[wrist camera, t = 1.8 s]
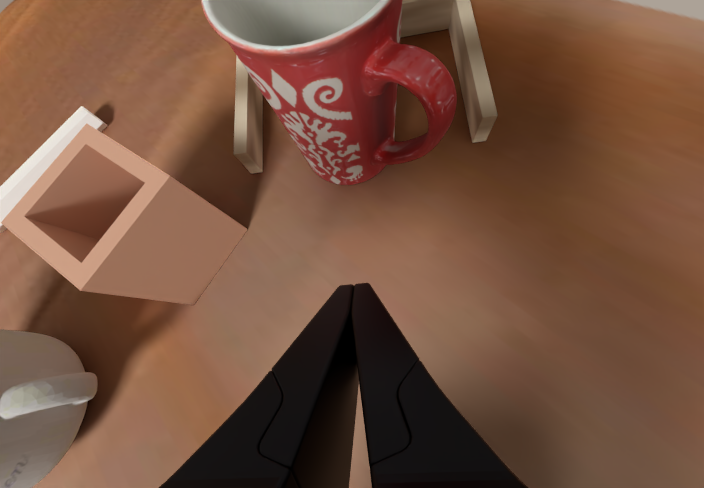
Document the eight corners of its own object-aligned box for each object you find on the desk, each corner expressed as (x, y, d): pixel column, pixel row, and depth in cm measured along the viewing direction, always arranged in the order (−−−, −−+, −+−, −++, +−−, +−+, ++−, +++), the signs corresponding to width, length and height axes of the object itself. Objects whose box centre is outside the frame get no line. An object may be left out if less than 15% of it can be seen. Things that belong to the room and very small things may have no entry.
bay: (485, 140, 24) (497, 115, 21) (251, 173, 26) (233, 154, 23) (458, 18, 28) (465, -18, 25) (252, 55, 30) (237, 25, 27)
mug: (273, 153, 27) (157, -15, 14) (346, 81, 27) (304, -138, 15) (384, 249, 23) (369, 146, 10) (464, 164, 24) (543, -29, 11)
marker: (-12, 253, 29) (109, 125, 31) (-17, 262, 28) (110, 127, 29) (-52, 238, 27) (79, 103, 29) (-60, 247, 26) (79, 104, 28)
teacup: (-32, 486, 23) (-252, 567, 15) (4, 330, 26) (-163, 330, 18) (146, 484, 21) (3, 572, 13) (162, 318, 24) (53, 312, 16)
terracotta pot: (193, 305, 24) (80, 290, 15) (133, 258, 26) (0, 222, 17) (247, 229, 25) (170, 176, 16) (186, 189, 27) (86, 123, 18)
